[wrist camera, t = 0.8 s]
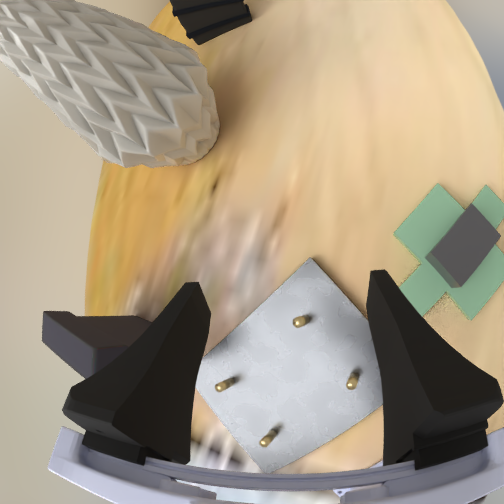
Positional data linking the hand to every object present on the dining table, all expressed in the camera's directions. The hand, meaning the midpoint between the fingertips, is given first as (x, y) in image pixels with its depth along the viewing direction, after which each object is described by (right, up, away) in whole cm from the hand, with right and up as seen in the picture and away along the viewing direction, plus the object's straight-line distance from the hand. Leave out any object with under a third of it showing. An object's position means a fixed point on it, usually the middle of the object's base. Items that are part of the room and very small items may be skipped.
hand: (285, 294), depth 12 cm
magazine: (-5, +41, +28) cm, 50 cm away
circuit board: (+18, +2, +11) cm, 22 cm away
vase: (-10, +18, +27) cm, 34 cm away
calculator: (-13, -9, +24) cm, 29 cm away
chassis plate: (+3, -11, +17) cm, 20 cm away
